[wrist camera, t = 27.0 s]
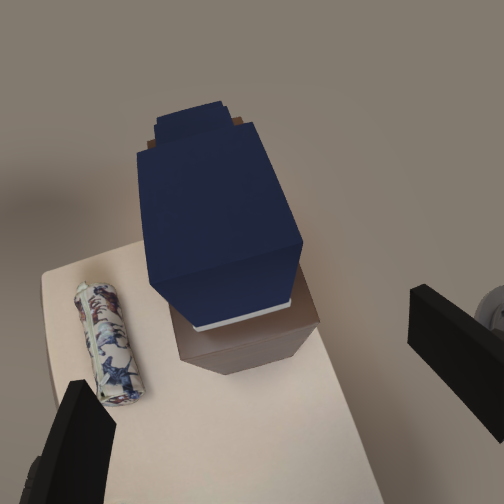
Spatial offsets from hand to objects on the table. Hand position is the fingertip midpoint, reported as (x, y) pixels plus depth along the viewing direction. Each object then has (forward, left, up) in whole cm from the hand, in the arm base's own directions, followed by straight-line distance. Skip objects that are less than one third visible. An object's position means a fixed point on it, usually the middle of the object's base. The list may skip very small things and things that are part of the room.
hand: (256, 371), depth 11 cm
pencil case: (+27, -5, -42) cm, 50 cm away
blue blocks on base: (+4, -16, -14) cm, 21 cm away
